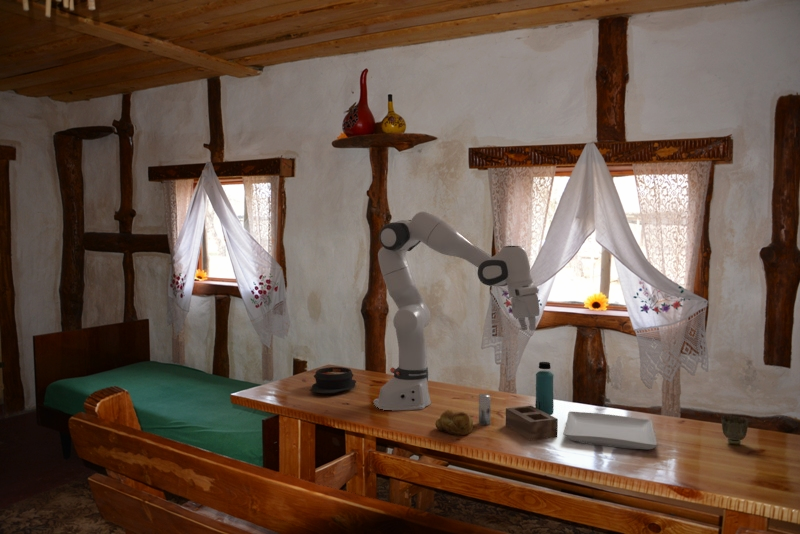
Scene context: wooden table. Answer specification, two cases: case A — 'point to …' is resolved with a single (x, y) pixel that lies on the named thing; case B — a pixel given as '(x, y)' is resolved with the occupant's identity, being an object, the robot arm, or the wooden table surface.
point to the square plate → (610, 430)
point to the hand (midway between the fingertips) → (528, 330)
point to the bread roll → (455, 423)
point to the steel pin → (484, 409)
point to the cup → (734, 429)
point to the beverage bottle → (544, 389)
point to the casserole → (333, 380)
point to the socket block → (531, 422)
